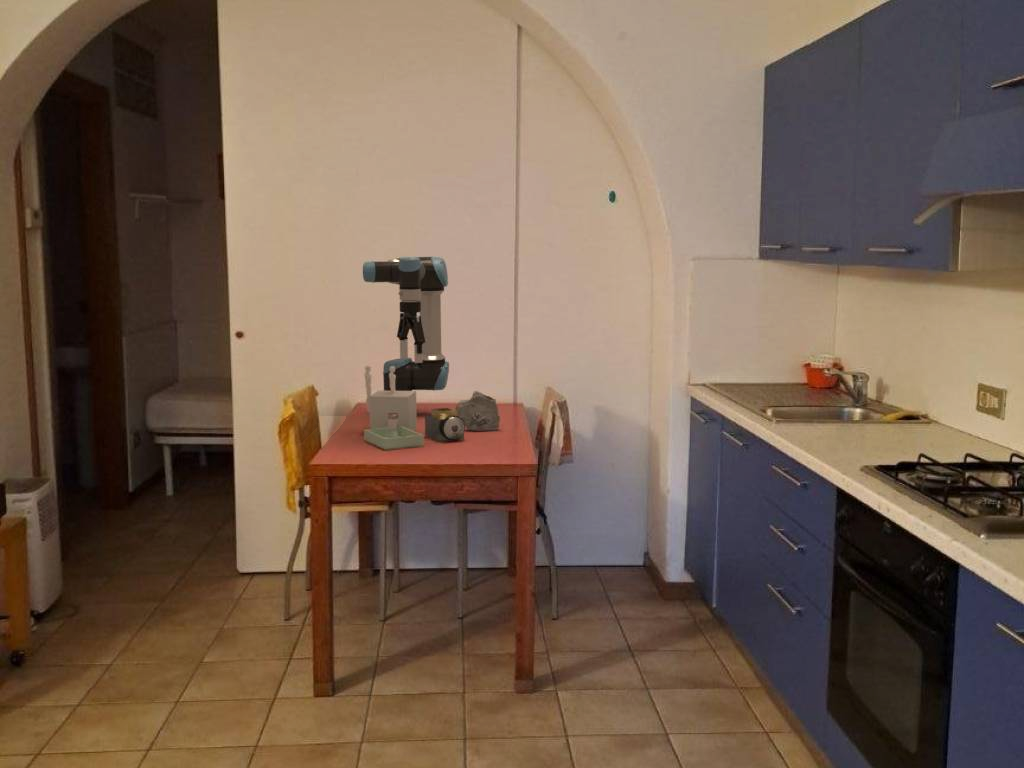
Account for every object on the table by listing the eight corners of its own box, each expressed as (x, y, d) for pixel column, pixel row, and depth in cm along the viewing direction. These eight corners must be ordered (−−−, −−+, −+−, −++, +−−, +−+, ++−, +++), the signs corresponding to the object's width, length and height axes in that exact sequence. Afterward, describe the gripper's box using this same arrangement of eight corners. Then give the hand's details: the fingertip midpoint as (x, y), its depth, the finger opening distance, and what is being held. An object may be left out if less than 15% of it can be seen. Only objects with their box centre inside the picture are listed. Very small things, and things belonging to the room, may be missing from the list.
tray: (364, 440, 364) (364, 429, 364) (401, 436, 371) (401, 425, 371) (385, 450, 347) (385, 439, 347) (423, 446, 354) (423, 435, 354)
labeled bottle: (386, 441, 360) (386, 413, 358) (396, 440, 362) (395, 412, 360) (390, 442, 357) (390, 415, 355) (400, 442, 359) (400, 414, 357)
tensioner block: (425, 436, 372) (424, 408, 370) (449, 433, 377) (449, 406, 375) (442, 443, 359) (442, 414, 357) (467, 440, 364) (467, 412, 362)
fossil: (454, 432, 380) (453, 392, 377) (454, 429, 386) (453, 390, 384) (500, 431, 380) (500, 392, 378) (499, 428, 387) (499, 389, 385)
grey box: (408, 436, 372) (407, 368, 369) (360, 435, 374) (359, 368, 371) (416, 428, 387) (415, 363, 383) (370, 427, 389) (369, 363, 385)
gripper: (387, 298, 367) (388, 356, 370) (413, 304, 345) (414, 365, 348) (406, 298, 370) (407, 355, 374) (434, 303, 348) (434, 364, 352)
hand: (411, 360), depth 361 cm, fingers open, 13 cm apart
